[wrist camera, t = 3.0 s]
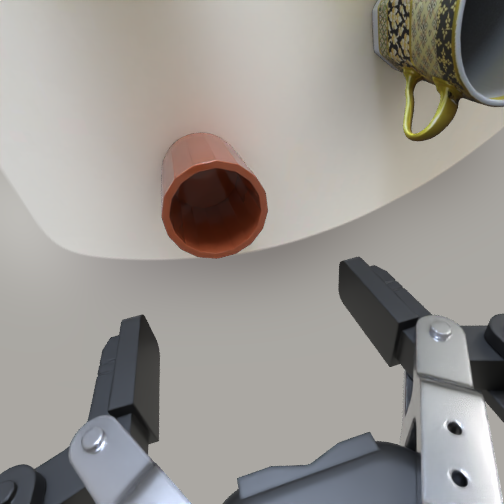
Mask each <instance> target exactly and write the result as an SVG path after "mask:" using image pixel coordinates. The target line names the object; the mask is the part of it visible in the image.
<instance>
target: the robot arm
mask: <svg viewBox="0 0 504 504" xmlns="http://www.w3.org/2000/svg"><path fill="white" fill-rule="evenodd" d="M339 265H340V266H339V295H340V298H341V300H342V302H343V304H344V305H345V306H346V308H347V309H348V311H349V312H350V313H351V315H352V316H353V317H354V319H355V320H356V322H357V323H358V324H359V326H360V327H361V328H362V330H363V331H364V332H365V334H366V335H367V337H368V338H369V339H370V341H371V342H372V343H373V345H374V346H375V347H376V349H377V350H378V352H379V353H380V354H381V356H382V357H383V358H384V360H385V361H386V363H387V364H388V365H389V367H392V366H395V365H398V364H401V365H402V366H403V368H404V369H405V371H404V387H403V388H404V390H403V419H402V429H401V436H400V445H398V444H393V443H389V442H381V441H375V440H374V438H373V437H372V435H371V433H370V432H368V433H365V434H362V435H359V436H356V437H353V438H350V439H348V440H345V441H342V442H340V443H337V444H336V445H335V446H333V447H332V448H331V449H330V450H328V451H327V452H326V453H324V454H323V455H322V456H320V457H319V458H318V459H316V460H315V461H314V462H312V463H311V464H308V465H296V466H271V467H268V468H265V469H262V470H259V471H256V472H254V473H251V474H248V475H245V476H242V477H239V478H237V481H238V487H239V489H238V490H237V491H235V492H234V493H233V494H232V495H231V496H229V498H228V499H226V500H225V502H224V503H223V504H503V499H502V494H501V488H500V483H499V477H498V472H497V466H496V461H495V455H494V450H493V444H492V438H491V433H490V427H489V423H488V416H487V411H486V405H485V401H486V403H487V404H488V405H489V406H490V407H491V408H492V410H493V411H494V412H495V413H496V414H497V415H498V416H499V418H500V419H501V420H502V421H503V422H504V314H498V315H495V316H494V317H492V318H491V319H490V322H489V324H488V326H459V325H458V324H457V323H456V322H454V321H453V320H451V319H449V318H446V317H443V316H439V315H432V314H431V313H430V312H429V311H428V310H426V309H425V308H424V307H423V306H422V305H421V304H420V303H419V302H418V301H417V300H416V299H415V298H414V297H413V296H412V295H411V294H410V293H409V292H407V290H406V289H404V288H403V287H402V286H401V285H400V284H399V283H398V282H397V281H395V279H394V278H393V277H392V276H391V275H390V274H389V273H388V272H387V271H385V270H383V269H381V268H379V267H377V266H375V265H374V266H369V265H368V264H367V263H366V262H365V261H364V260H363V259H362V258H360V257H355V258H352V259H348V260H344V261H341V262H340V264H339ZM159 375H160V353H159V347H158V343H157V340H156V338H155V336H154V334H153V332H152V330H151V328H150V326H149V324H148V322H147V320H146V318H145V316H144V315H139V316H135V317H131V318H128V319H124V320H122V322H121V327H120V334H119V335H118V336H115V337H111V338H110V339H109V341H108V342H107V344H106V346H105V347H104V349H103V351H102V356H101V360H100V366H99V370H98V377H97V379H96V385H95V389H94V394H93V399H92V404H91V408H90V413H89V418H88V421H87V423H86V424H84V425H83V426H82V427H81V428H80V429H79V430H78V432H77V433H76V434H75V436H74V437H73V439H72V441H71V443H70V446H69V447H68V448H67V449H65V450H64V451H63V452H61V453H59V454H58V455H56V456H55V457H53V458H52V459H50V460H48V461H47V462H45V463H44V464H42V465H40V466H39V467H37V468H36V469H33V468H32V467H31V466H28V465H24V464H23V465H17V466H14V467H12V468H9V469H8V470H6V471H4V472H3V473H2V474H0V504H192V503H191V502H190V501H189V500H188V499H187V498H186V497H185V496H184V494H183V493H182V492H181V491H180V490H179V489H178V488H177V486H176V485H175V484H174V483H173V482H172V481H171V480H170V478H169V477H168V476H167V475H166V474H165V473H164V472H163V470H162V469H161V468H160V467H159V466H158V465H157V464H156V463H155V462H154V461H153V460H152V459H151V458H150V457H149V456H148V444H151V443H154V442H157V441H159V377H160V376H159Z"/></svg>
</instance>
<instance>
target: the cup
mask: <svg viewBox="0 0 504 504" xmlns="http://www.w3.org/2000/svg"><path fill="white" fill-rule="evenodd" d="M267 212H268V207H267V199H266V193H265V190H264V189H263V187H262V185H261V184H260V182H259V181H258V179H257V177H256V176H255V175H254V173H253V172H252V171H251V170H250V168H249V167H248V166H247V165H246V163H245V162H244V161H243V160H242V158H241V157H240V156H239V155H238V153H237V152H236V151H235V150H234V148H233V147H232V146H231V145H230V144H228V143H227V142H226V141H225V140H223V139H222V138H220V137H218V136H215V135H212V134H208V133H193V134H189V135H186V136H184V137H182V138H180V139H179V140H177V141H176V142H175V143H174V144H173V145H172V146H171V147H170V148H169V150H168V151H167V153H166V155H165V157H164V160H163V165H162V175H161V216H162V220H163V223H164V226H165V229H166V232H167V234H168V236H169V237H170V238H171V239H172V240H173V241H174V242H175V244H176V245H177V246H178V247H179V248H180V249H182V250H184V251H186V252H188V253H190V254H193V255H195V256H197V257H203V258H222V257H225V256H229V255H233V254H236V253H238V252H239V251H241V250H242V249H244V248H245V247H247V246H248V245H250V244H251V243H252V242H253V241H254V240H255V238H256V237H257V236H258V234H259V233H260V232H261V230H262V228H263V226H264V223H265V219H266V216H267Z"/></svg>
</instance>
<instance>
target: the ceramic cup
mask: <svg viewBox="0 0 504 504" xmlns="http://www.w3.org/2000/svg"><path fill="white" fill-rule="evenodd" d="M372 18H373V43H374V52H375V53H376V54H377V55H378V56H379V57H380V58H382V59H383V60H384V61H385V62H386V63H388V64H389V65H390V66H391V67H392V68H394V69H395V70H398V71H401V72H403V74H404V76H405V78H406V89H405V96H406V107H405V113H404V119H403V130H404V133H405V135H406V137H407V138H408V139H410V140H412V141H424V140H428V139H431V138H433V137H435V136H436V135H438V134H439V133H440V132H442V131H443V130H444V129H445V128H446V127H447V126H448V125H449V123H450V122H451V121H452V119H453V118H454V116H455V114H456V111H457V109H458V103H459V100H460V98H465V99H468V100H471V101H474V102H477V103H480V104H483V105H487V106H492V107H504V0H378V1H377V2H376V4H375V6H374V8H373V12H372ZM422 80H423V81H426V82H428V83H431V84H434V85H436V88H437V91H438V92H439V93H440V95H441V96H440V103H439V106H438V108H437V111H436V113H435V115H434V117H433V119H432V121H431V122H430V123H429V125H428V126H427V127H426V128H425V129H424V130H422V131H421V132H419V133H416V134H413V133H412V130H411V127H412V118H413V112H414V96H413V92H414V88H415V85H416V84H417V83H418V82H419V81H422Z"/></svg>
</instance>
